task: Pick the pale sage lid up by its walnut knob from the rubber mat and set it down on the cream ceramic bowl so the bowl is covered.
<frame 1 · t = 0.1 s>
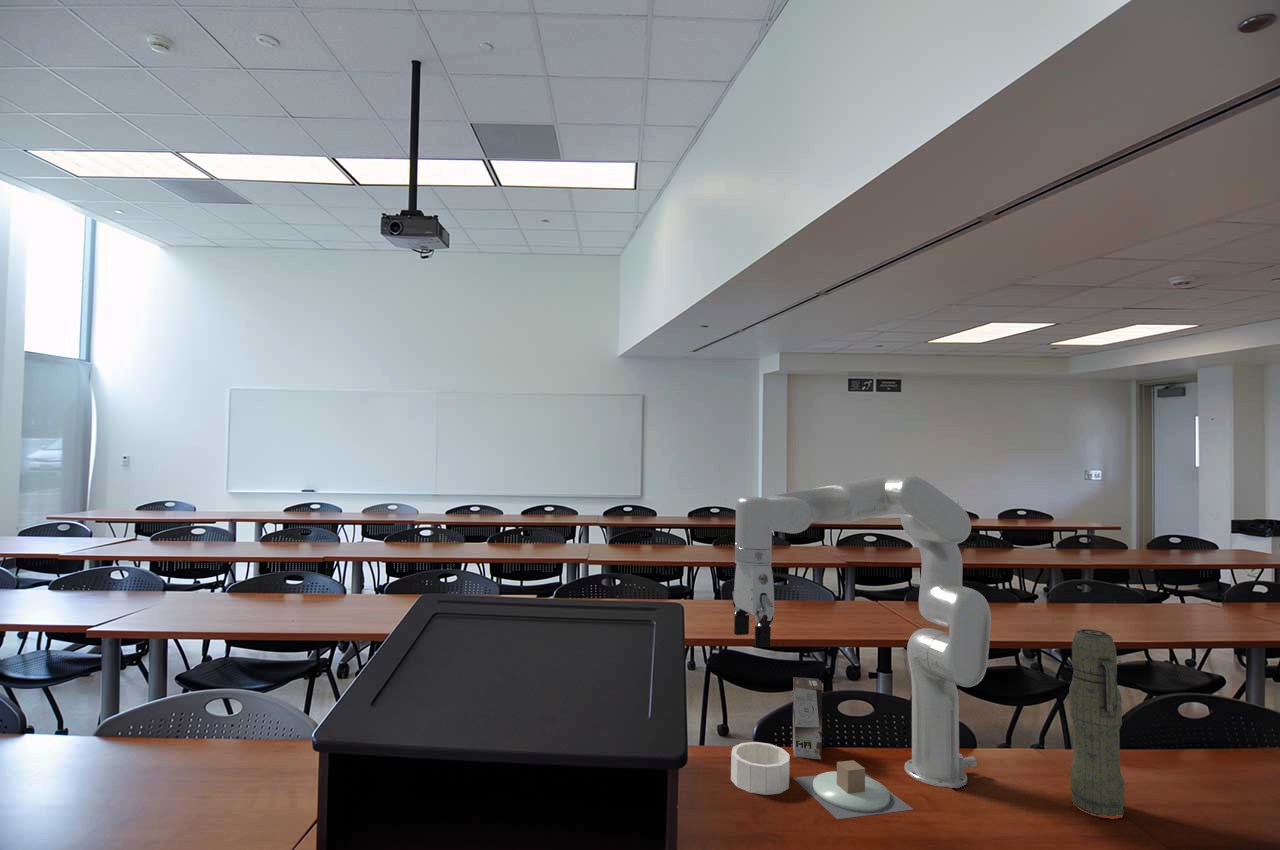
hand: (751, 640, 134), 31 cm above the table, tool pointing down, fingers open, 9 cm apart
mat: (850, 795, 133), on the table
bowl: (760, 783, 138), on the table
thermos: (1097, 809, 131), on the table
lid: (850, 793, 133), point 1 cm above the table, touching mat
coffee box: (806, 753, 154), on the table
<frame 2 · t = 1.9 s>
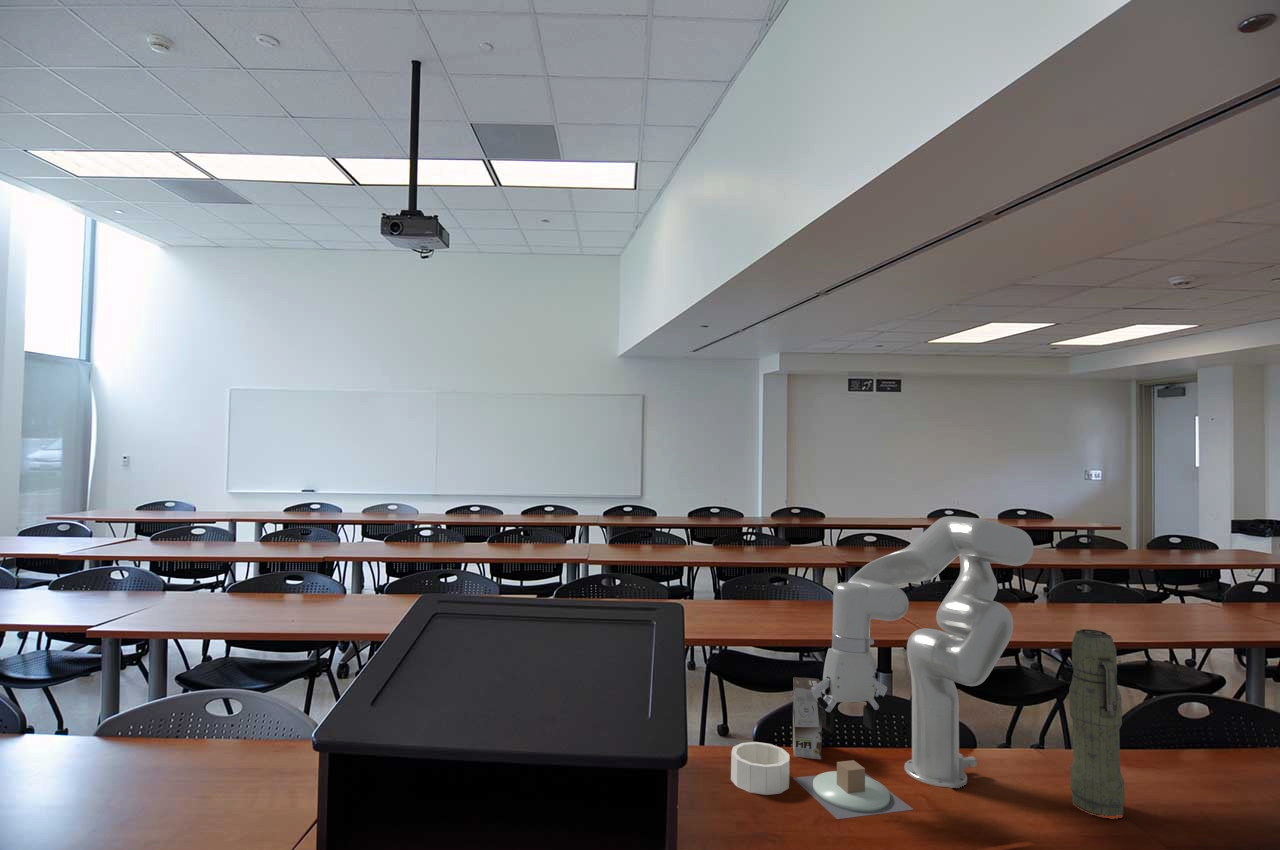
hand: (848, 728, 134), 13 cm above the table, tool pointing down, fingers open, 9 cm apart
nothing on the table moved.
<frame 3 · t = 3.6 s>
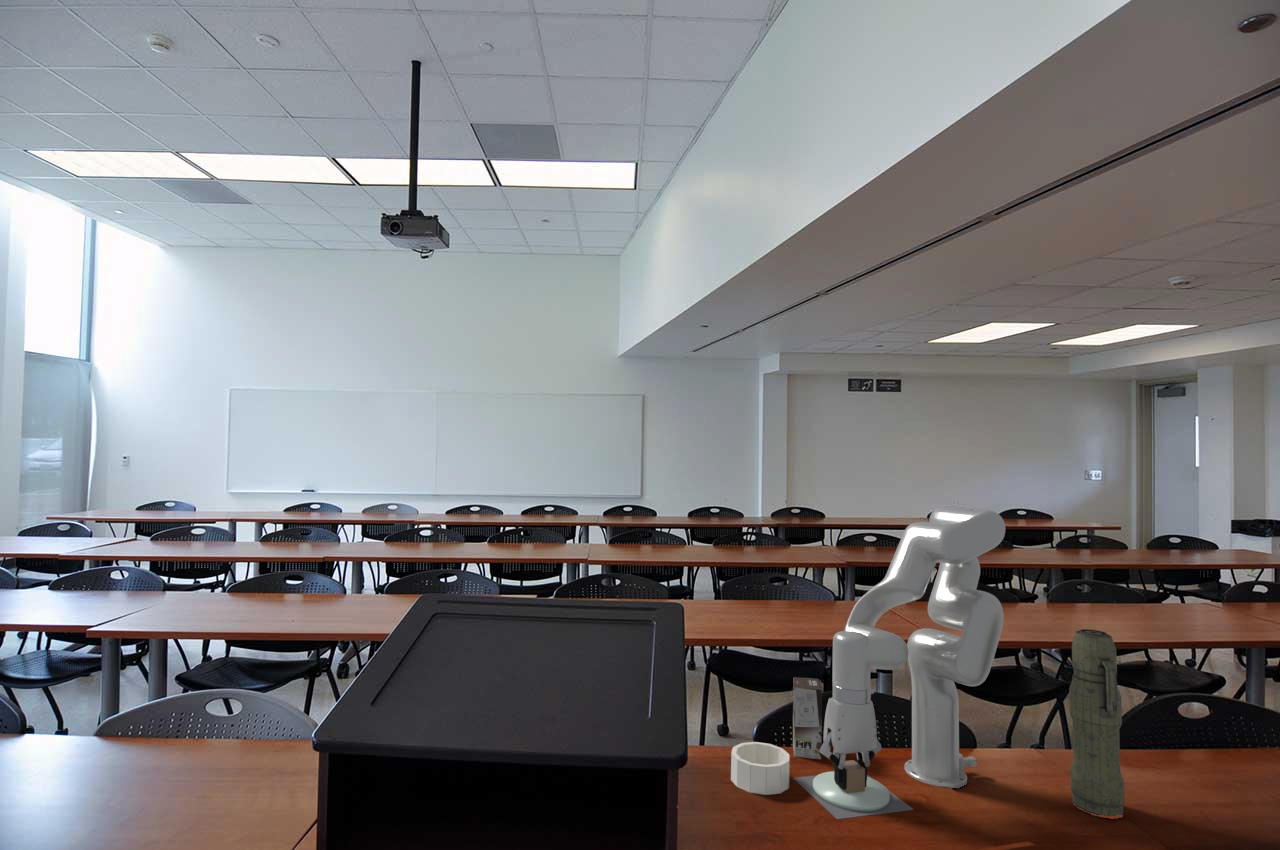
hand: (850, 784, 133), 2 cm above the table, tool pointing down, fingers closed on lid, 4 cm apart
lid: (850, 792, 133), point 1 cm above the table, touching gripper, mat
everything else where it was.
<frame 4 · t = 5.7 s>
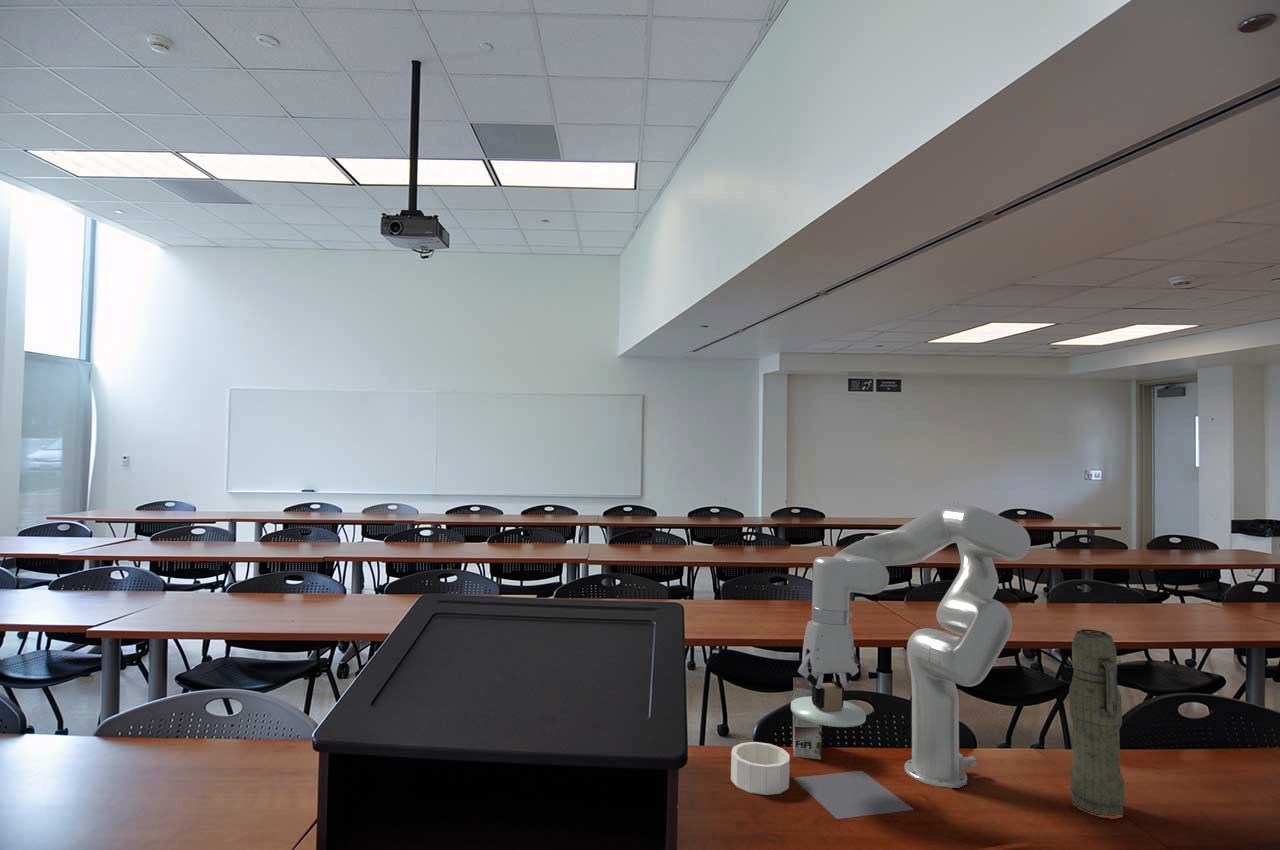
hand: (827, 704, 135), 18 cm above the table, tool pointing down, fingers closed on lid, 4 cm apart
lid: (827, 713, 135), point 16 cm above the table, touching gripper
everything else where it was.
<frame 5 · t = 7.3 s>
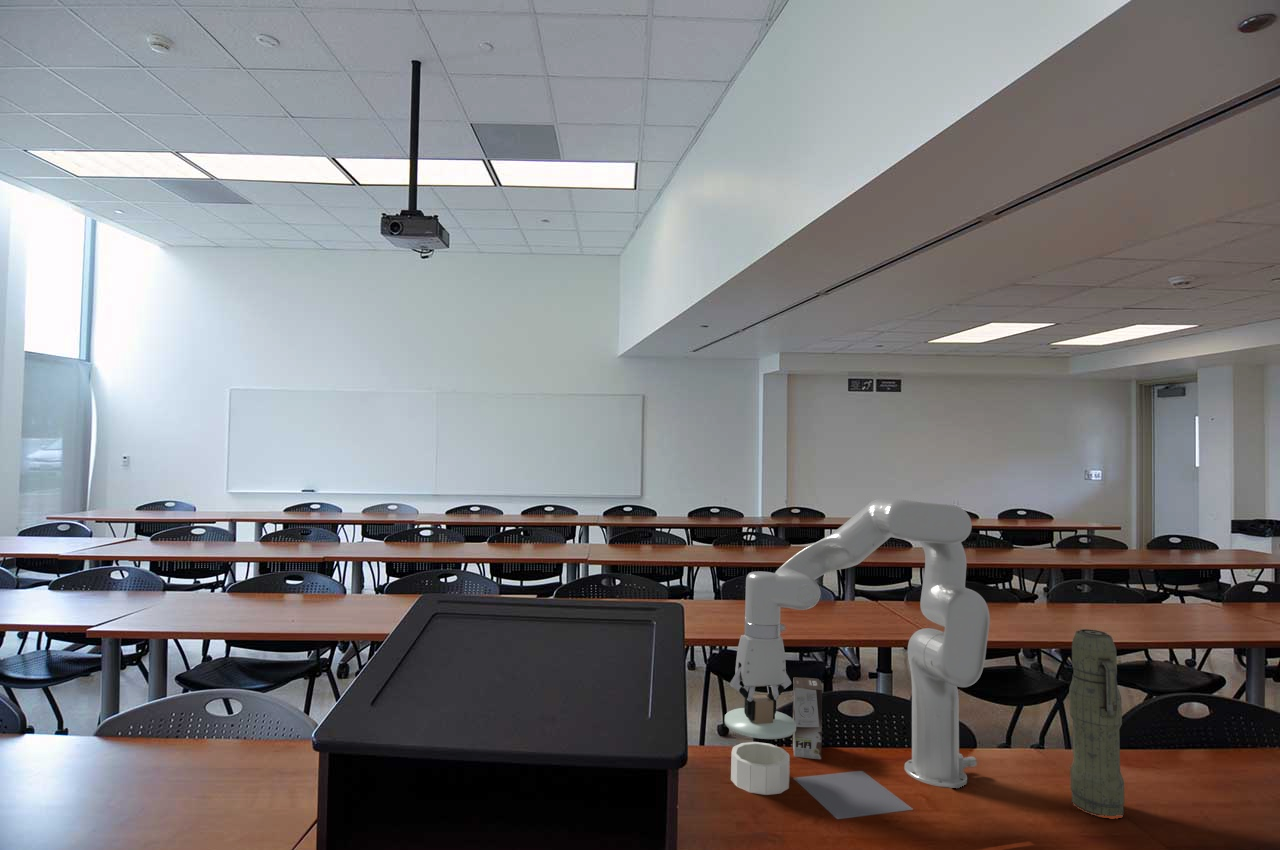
hand: (760, 716, 139), 14 cm above the table, tool pointing down, fingers closed on lid, 4 cm apart
lid: (759, 724, 138), point 12 cm above the table, touching gripper
everything else where it was.
when the fingers open (9 cm above the table, at t = 8.3 s): lid drops 2 cm, resting on bowl.
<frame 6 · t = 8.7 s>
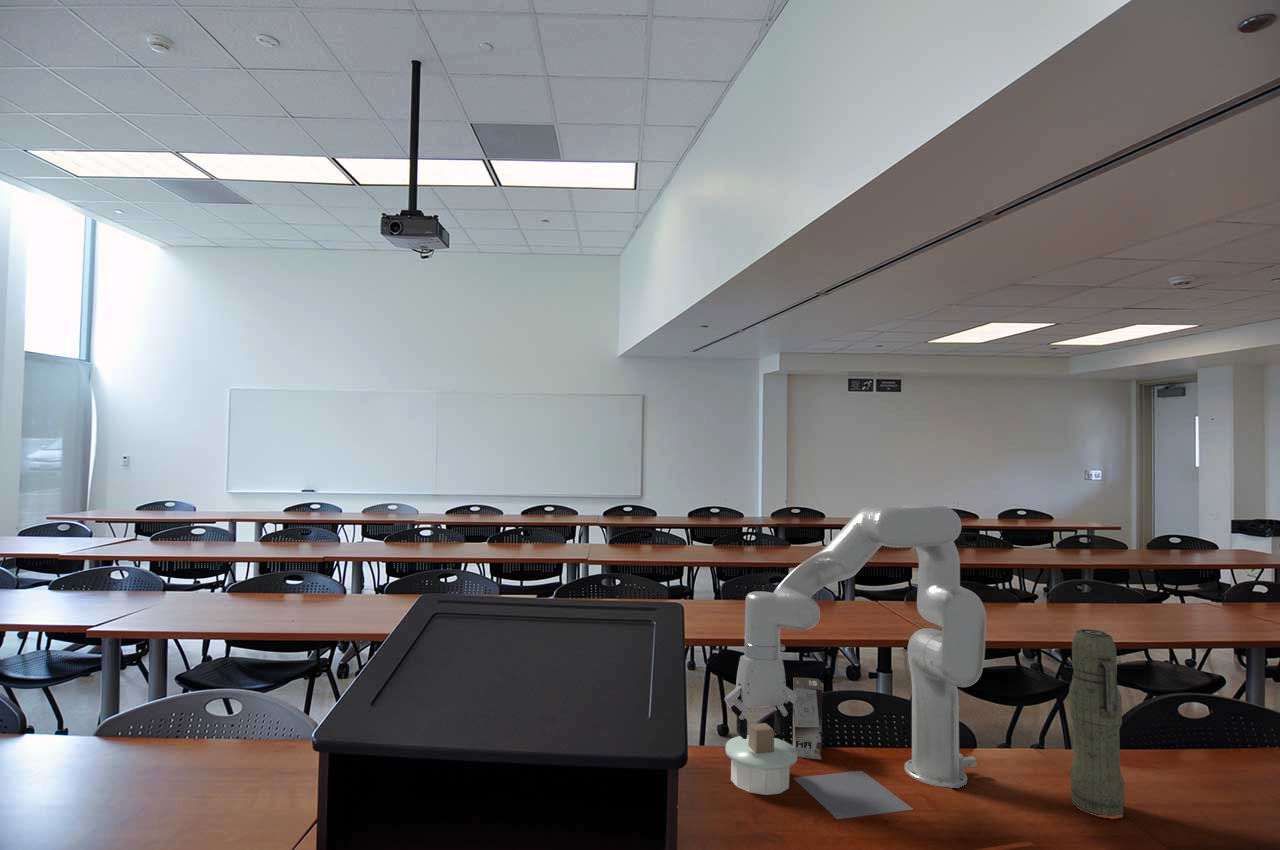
hand: (760, 734, 138), 10 cm above the table, tool pointing down, fingers open, 8 cm apart
lid: (760, 753, 138), point 6 cm above the table, touching bowl
everything else where it was.
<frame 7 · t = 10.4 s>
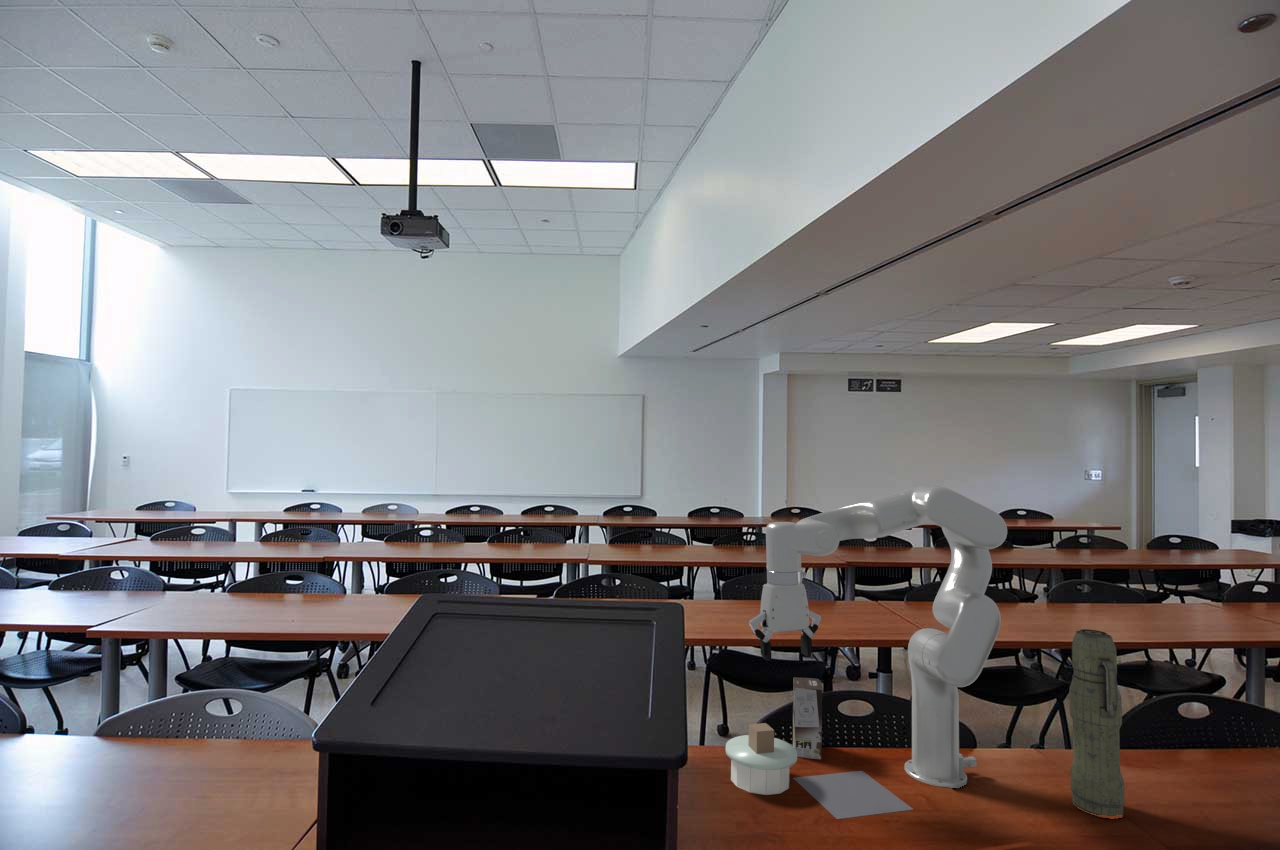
hand: (786, 657, 143), 25 cm above the table, tool pointing down, fingers open, 9 cm apart
nothing on the table moved.
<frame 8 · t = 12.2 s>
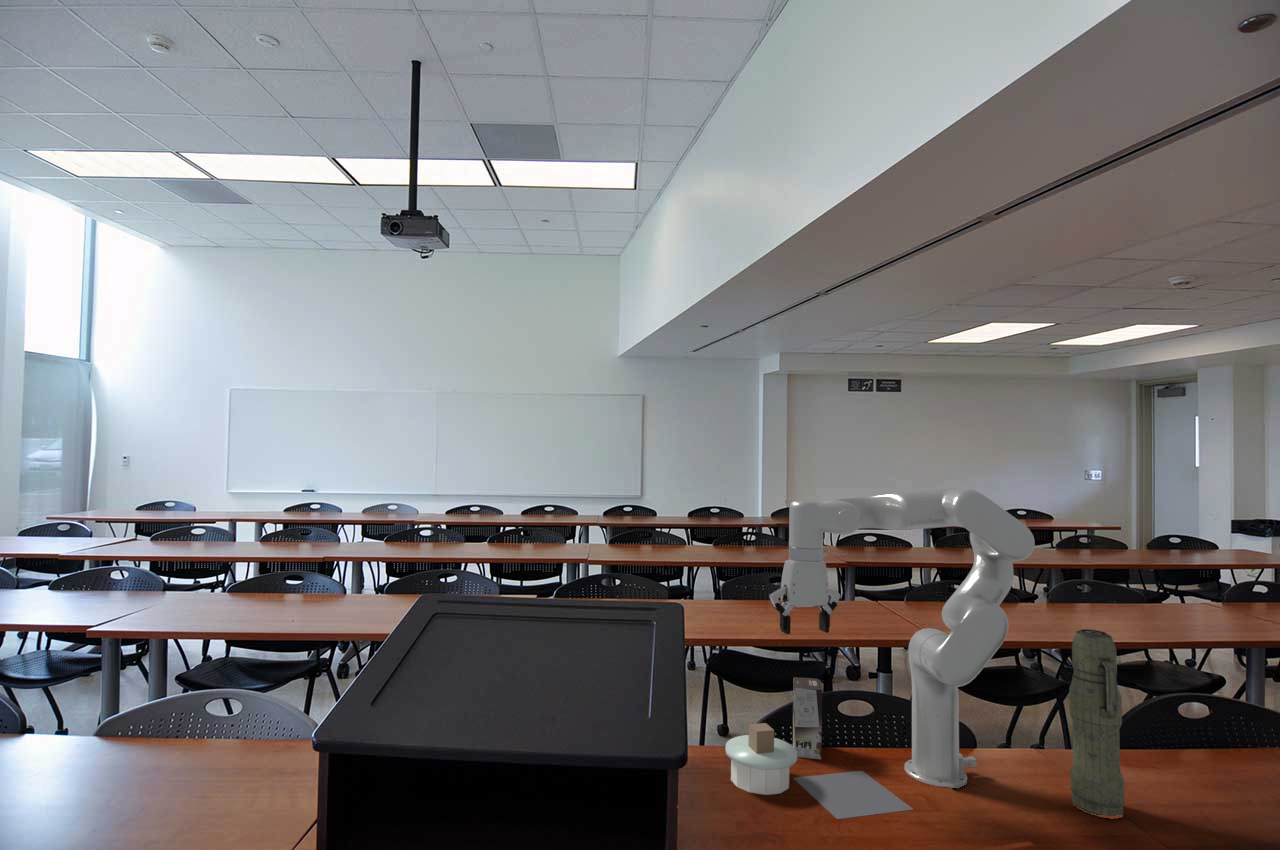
hand: (804, 632, 146), 30 cm above the table, tool pointing down, fingers open, 9 cm apart
nothing on the table moved.
at the end: lid 0.1 cm off-centre on the bowl, point 6.0 cm above the bowl's base; lid tilted 0°; the gripper is holding nothing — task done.
